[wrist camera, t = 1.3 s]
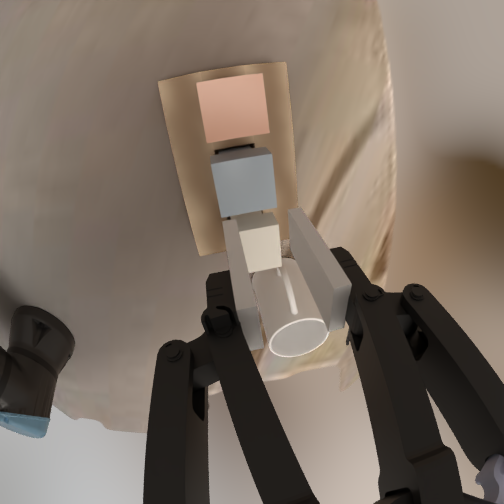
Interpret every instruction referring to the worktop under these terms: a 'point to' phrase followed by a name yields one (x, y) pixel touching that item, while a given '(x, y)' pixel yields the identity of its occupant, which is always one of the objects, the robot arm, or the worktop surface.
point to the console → (199, 151)
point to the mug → (288, 310)
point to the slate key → (244, 180)
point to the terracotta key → (233, 107)
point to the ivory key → (259, 240)
